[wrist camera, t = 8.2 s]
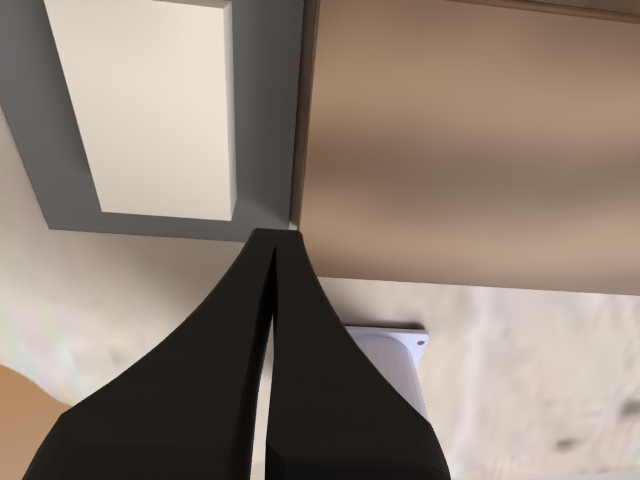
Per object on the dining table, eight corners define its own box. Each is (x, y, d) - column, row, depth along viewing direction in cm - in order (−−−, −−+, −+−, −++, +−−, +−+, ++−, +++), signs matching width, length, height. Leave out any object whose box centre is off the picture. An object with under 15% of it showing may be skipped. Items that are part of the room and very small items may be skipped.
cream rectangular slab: (101, 211, 19) (118, 190, 20) (230, 221, 19) (236, 199, 21) (40, -13, 13) (68, -19, 15) (222, 8, 14) (231, 1, 15)
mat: (287, 240, 23) (287, 244, 23) (52, 224, 22) (49, 229, 22) (308, -60, 14) (308, -60, 14) (-74, -110, 13) (-83, -111, 13)
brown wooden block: (623, 249, 24) (671, 297, 21) (297, 227, 22) (295, 275, 19) (784, 32, 17) (894, 55, 14) (318, -26, 15) (322, -15, 12)
